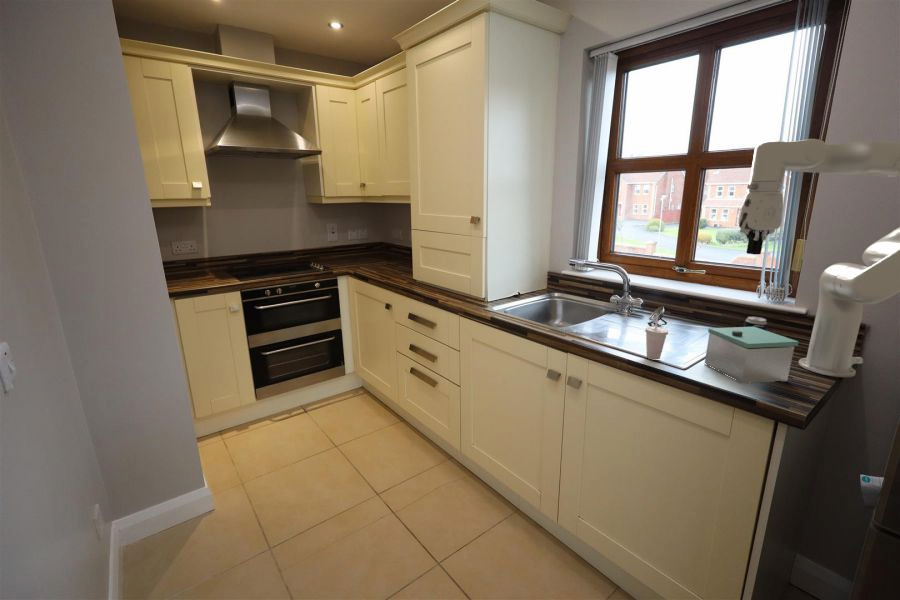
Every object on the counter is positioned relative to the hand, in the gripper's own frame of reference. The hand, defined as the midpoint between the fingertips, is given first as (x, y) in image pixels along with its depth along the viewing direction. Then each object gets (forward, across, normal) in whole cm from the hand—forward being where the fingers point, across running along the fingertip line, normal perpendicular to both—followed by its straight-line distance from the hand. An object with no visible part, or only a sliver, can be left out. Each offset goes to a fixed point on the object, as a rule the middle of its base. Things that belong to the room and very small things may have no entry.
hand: (753, 253), depth 120 cm
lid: (+23, -4, -8) cm, 25 cm away
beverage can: (+34, +11, +5) cm, 36 cm away
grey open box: (+34, -4, -7) cm, 35 cm away
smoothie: (+34, -23, +7) cm, 41 cm away
